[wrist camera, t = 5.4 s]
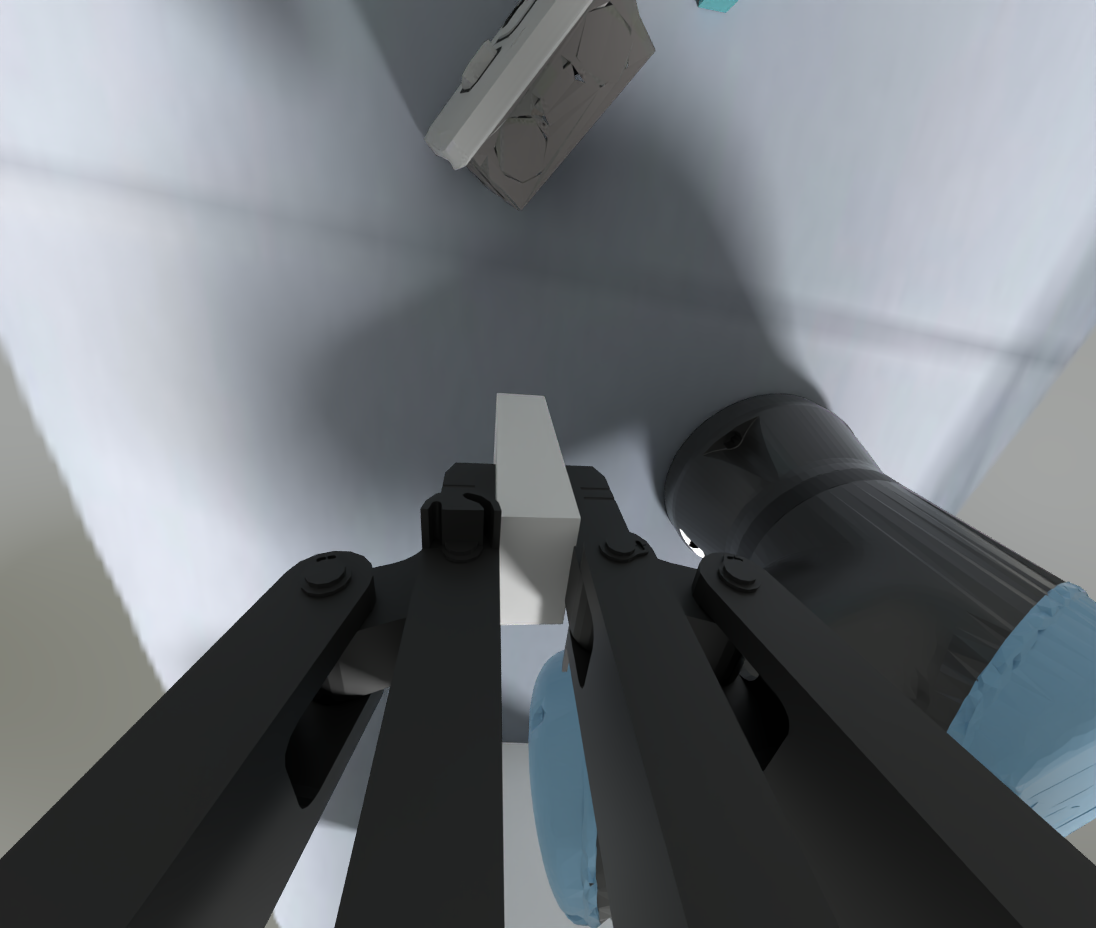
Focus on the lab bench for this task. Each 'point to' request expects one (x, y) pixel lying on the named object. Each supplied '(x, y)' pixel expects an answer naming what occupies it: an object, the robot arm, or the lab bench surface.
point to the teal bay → (717, 4)
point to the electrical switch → (539, 91)
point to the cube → (525, 852)
